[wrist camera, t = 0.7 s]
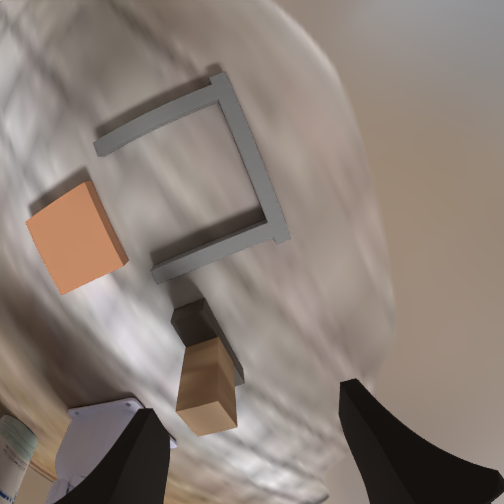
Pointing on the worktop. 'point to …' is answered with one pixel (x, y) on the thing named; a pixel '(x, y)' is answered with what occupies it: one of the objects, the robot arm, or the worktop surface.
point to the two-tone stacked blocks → (206, 371)
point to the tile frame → (251, 158)
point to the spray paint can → (14, 456)
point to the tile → (76, 239)
